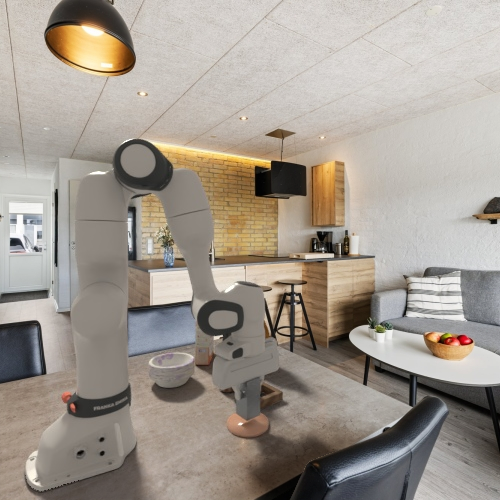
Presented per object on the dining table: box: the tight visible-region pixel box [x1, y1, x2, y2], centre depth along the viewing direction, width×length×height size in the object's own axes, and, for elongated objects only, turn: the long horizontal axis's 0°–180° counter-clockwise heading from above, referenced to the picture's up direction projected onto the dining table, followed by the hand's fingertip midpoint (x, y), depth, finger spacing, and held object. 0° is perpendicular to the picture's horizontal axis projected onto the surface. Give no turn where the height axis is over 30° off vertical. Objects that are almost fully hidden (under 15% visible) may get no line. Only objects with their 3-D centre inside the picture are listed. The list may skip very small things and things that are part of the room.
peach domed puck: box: [226, 412, 270, 438], centre depth 87 cm, size 11×11×1 cm
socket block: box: [260, 381, 284, 411], centre depth 101 cm, size 9×9×2 cm
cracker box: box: [194, 321, 215, 366], centre depth 133 cm, size 14×6×21 cm, turn 179°
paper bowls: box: [148, 352, 196, 389], centre depth 112 cm, size 15×15×8 cm
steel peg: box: [235, 377, 261, 421], centre depth 87 cm, size 4×4×10 cm
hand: (248, 395), depth 87 cm, fingers closed on steel peg, 4 cm apart
